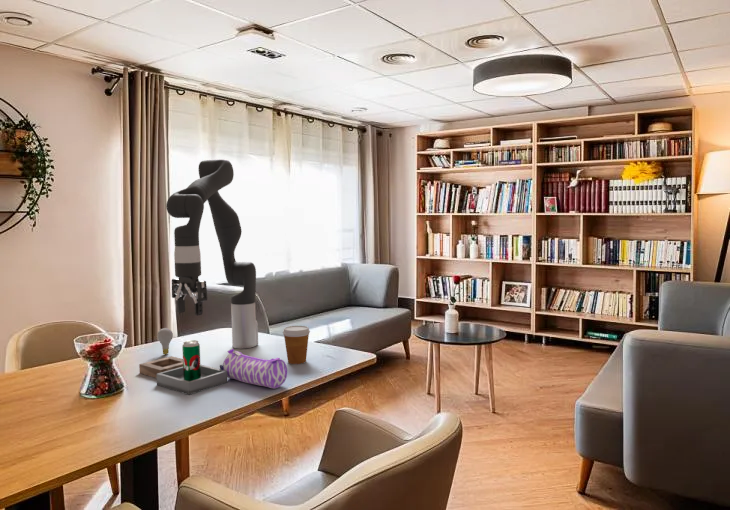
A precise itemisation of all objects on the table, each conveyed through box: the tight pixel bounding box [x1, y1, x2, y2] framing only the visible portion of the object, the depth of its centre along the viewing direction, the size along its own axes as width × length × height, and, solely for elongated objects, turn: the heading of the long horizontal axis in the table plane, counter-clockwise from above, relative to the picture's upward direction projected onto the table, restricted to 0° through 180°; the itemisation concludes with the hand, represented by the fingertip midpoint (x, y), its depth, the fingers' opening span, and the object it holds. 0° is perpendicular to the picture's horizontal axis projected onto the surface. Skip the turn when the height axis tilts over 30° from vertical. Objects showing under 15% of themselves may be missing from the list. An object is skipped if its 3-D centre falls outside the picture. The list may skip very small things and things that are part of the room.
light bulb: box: [156, 327, 174, 356], centre depth 200 cm, size 6×6×10 cm
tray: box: [156, 364, 229, 396], centre depth 165 cm, size 14×16×4 cm
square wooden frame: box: [138, 355, 183, 379], centre depth 178 cm, size 12×12×3 cm
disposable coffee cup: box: [282, 325, 311, 365], centre depth 187 cm, size 10×10×12 cm
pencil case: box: [219, 348, 288, 389], centre depth 165 cm, size 22×9×9 cm, turn 55°
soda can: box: [181, 340, 201, 381], centre depth 164 cm, size 5×5×12 cm
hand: (189, 313), depth 163 cm, fingers open, 8 cm apart
